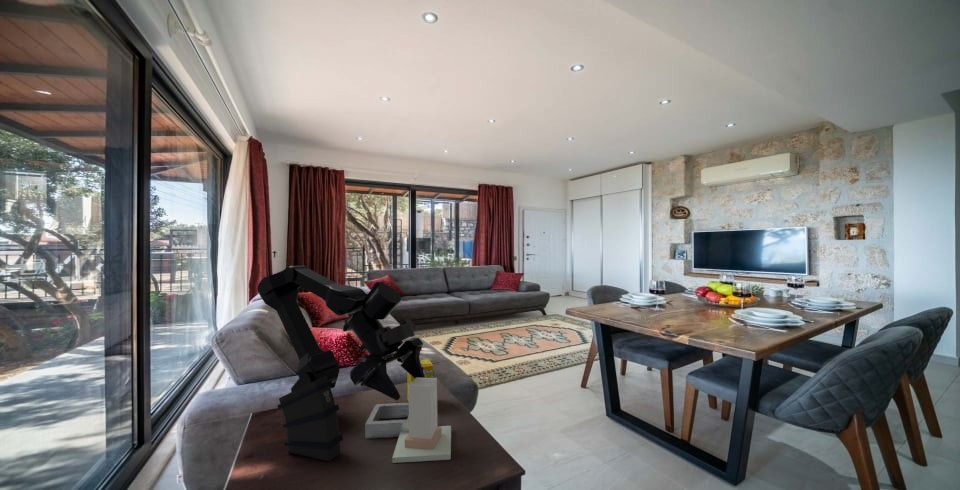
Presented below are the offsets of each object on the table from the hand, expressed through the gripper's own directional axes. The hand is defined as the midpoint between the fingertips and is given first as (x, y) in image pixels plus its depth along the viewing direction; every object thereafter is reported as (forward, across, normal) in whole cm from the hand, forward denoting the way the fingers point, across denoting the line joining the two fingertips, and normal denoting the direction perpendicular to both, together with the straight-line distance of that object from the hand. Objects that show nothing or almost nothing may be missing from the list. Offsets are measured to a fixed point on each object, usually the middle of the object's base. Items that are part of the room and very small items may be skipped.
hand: (412, 390), depth 72 cm
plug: (+9, 0, +5) cm, 10 cm away
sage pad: (+10, 0, +6) cm, 11 cm away
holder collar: (+2, +4, +14) cm, 14 cm away
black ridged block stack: (-4, -11, +20) cm, 23 cm away
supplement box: (+2, +16, +14) cm, 21 cm away
